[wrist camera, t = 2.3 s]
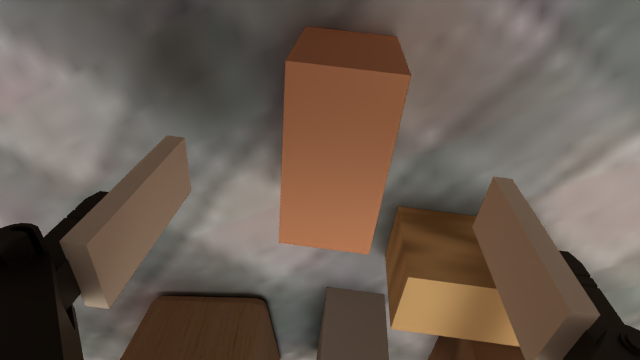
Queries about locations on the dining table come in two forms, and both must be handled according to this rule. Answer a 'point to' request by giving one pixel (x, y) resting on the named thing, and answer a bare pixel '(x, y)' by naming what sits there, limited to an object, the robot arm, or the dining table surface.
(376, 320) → the grey brick
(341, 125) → the rust brick
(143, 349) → the block
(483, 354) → the walnut brick
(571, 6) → the dining table surface
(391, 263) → the oak brick
